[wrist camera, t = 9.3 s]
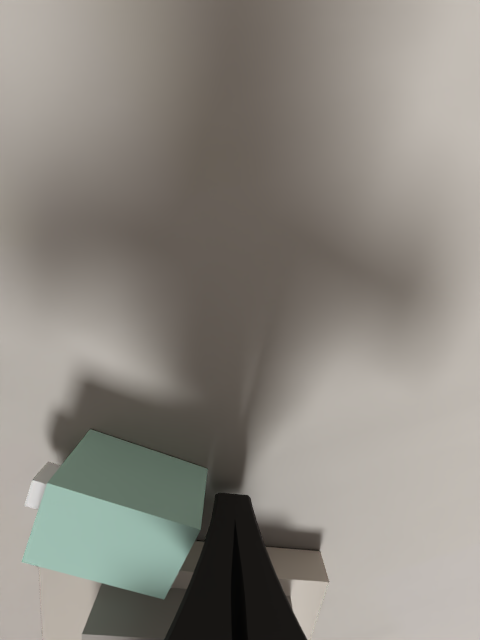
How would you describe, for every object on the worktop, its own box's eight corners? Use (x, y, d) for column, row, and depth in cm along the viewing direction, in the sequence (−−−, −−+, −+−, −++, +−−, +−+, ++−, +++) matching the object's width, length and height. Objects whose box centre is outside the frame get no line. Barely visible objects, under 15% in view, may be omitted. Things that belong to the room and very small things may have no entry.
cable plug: (178, 528, 12) (164, 599, 9) (48, 488, 11) (-4, 555, 9) (207, 468, 11) (200, 529, 9) (70, 422, 10) (20, 474, 8)
